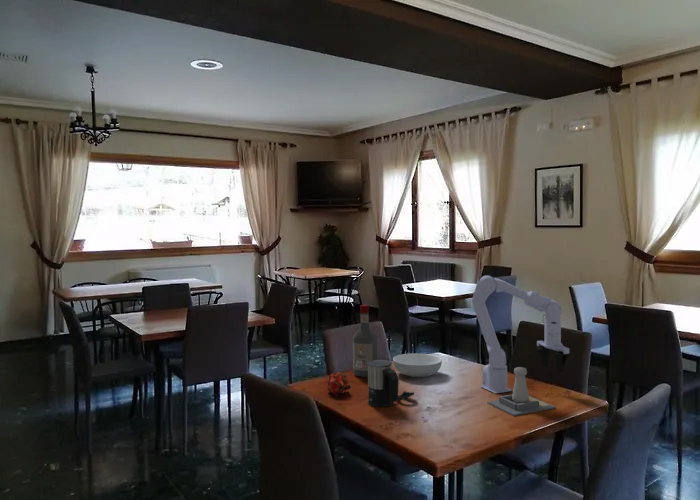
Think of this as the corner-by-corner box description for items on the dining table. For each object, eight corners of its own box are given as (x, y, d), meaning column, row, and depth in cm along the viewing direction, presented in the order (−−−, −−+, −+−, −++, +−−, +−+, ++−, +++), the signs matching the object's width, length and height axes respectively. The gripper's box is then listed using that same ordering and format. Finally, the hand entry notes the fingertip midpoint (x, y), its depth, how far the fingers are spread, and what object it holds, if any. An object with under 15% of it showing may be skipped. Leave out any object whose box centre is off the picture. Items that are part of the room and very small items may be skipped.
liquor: (371, 378, 221) (369, 307, 220) (351, 375, 225) (350, 306, 224) (379, 372, 229) (378, 304, 228) (360, 370, 233) (359, 303, 232)
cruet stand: (487, 403, 187) (487, 396, 187) (527, 396, 194) (527, 389, 194) (513, 416, 174) (513, 408, 174) (555, 408, 181) (555, 400, 181)
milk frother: (362, 404, 189) (361, 363, 189) (387, 392, 202) (386, 354, 201) (395, 412, 180) (394, 369, 180) (419, 399, 193) (418, 359, 192)
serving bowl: (446, 381, 215) (445, 364, 215) (395, 382, 215) (394, 365, 215) (437, 367, 236) (437, 352, 235) (391, 368, 236) (391, 353, 236)
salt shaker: (529, 407, 180) (529, 370, 180) (512, 406, 182) (511, 369, 181) (528, 402, 186) (528, 366, 185) (511, 401, 187) (511, 365, 187)
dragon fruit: (335, 391, 209) (343, 405, 197) (318, 381, 206) (325, 395, 195) (348, 374, 209) (356, 387, 198) (331, 364, 206) (339, 376, 195)
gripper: (575, 335, 191) (575, 372, 191) (546, 328, 204) (546, 363, 205) (560, 337, 188) (560, 374, 189) (532, 330, 202) (532, 365, 202)
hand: (552, 368), depth 197 cm, fingers open, 7 cm apart
